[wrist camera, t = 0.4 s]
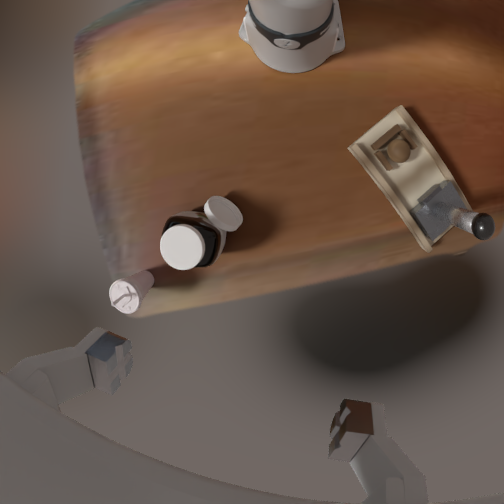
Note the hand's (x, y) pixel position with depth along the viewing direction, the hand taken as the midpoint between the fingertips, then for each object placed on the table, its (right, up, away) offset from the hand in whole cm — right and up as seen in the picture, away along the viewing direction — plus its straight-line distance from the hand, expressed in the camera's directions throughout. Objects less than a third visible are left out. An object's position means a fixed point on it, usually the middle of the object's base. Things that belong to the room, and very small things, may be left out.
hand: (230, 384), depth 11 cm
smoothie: (-20, -1, +51) cm, 55 cm away
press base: (+29, +17, +40) cm, 52 cm away
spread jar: (-7, +10, +47) cm, 48 cm away
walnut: (+25, +21, +35) cm, 48 cm away
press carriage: (+33, +13, +38) cm, 52 cm away
